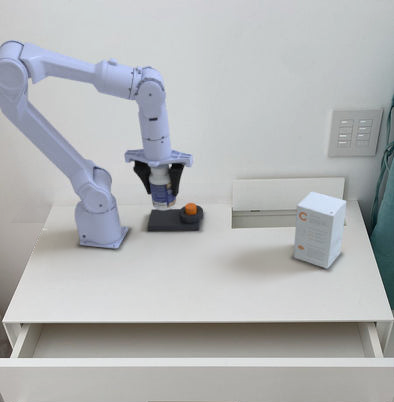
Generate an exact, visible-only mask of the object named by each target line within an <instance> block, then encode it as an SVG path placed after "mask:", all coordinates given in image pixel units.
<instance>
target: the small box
mask: <svg viewBox="0 0 394 402" xmlns="http://www.w3.org/2000/svg"><path fill="white" fill-rule="evenodd" d="M347 202H348V201H347V200H344V199H342V198H341V199H340V198H337V197H334V196H330V195H327V194H322V193H319V192H317V191H316V192H315V191H312V190H311V191H310V192H309V193H307V195H306V196H305V197H304V198H303V199H302V200H301V201H300V202H299V203H297V204H296V217H295V233H294V249H293V258H294V259H296V260H299V261H303V262H306V263H309V264H311V265H315V266H318V267H321V268H323V269H326V270H327V269H329V268H330V266H331V265H332V264H333V263H334V262H335V261H336V259H337V258H338V257H339V255H341V250H342V244H343V235H344V234H343V233H344V227H345V218H346V212H347Z"/></svg>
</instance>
